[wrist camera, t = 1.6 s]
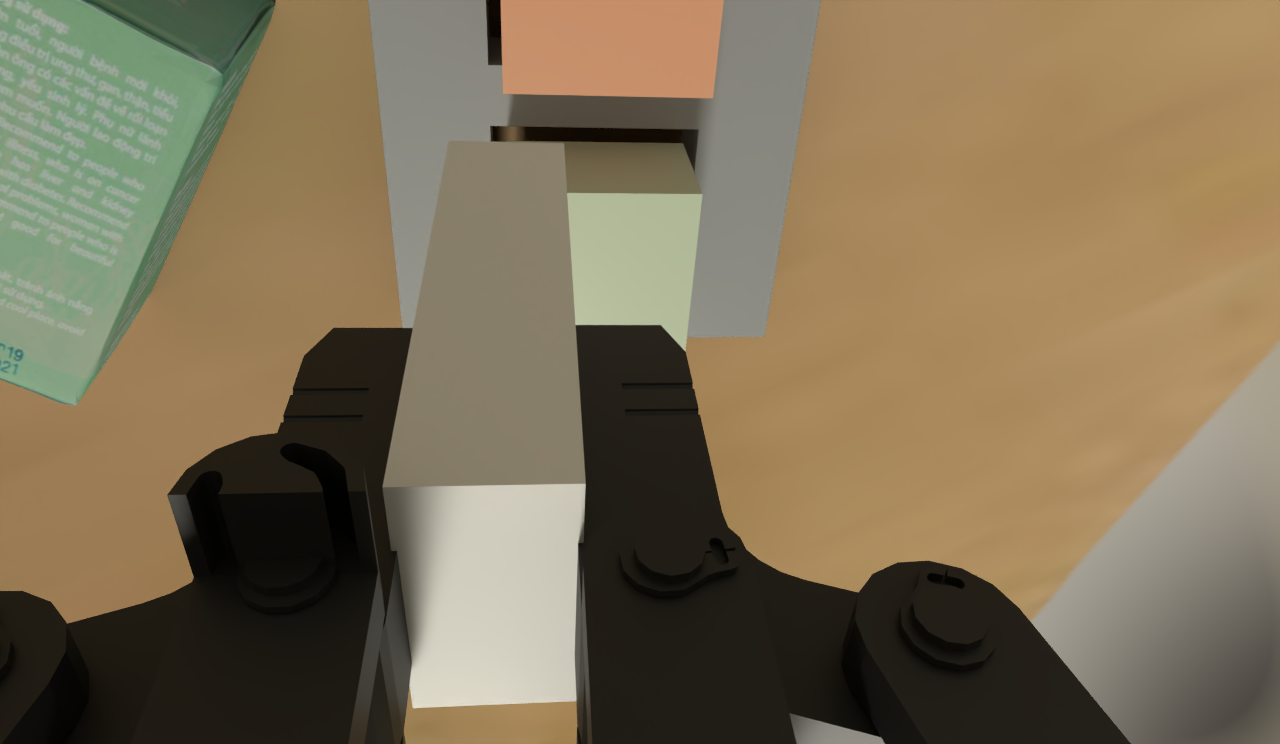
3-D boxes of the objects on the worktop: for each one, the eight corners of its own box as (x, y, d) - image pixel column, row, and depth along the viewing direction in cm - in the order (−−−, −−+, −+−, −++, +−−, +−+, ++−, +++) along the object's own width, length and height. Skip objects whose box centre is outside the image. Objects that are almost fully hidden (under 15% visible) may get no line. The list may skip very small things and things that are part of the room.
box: (286, -8, 30) (229, 65, 24) (152, 296, 36) (79, 416, 30) (44, -148, 28) (-89, -104, 22) (-58, 208, 34) (-185, 321, 28)
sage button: (509, 294, 35) (509, 356, 31) (506, 140, 31) (505, 192, 28) (668, 293, 35) (684, 354, 32) (683, 143, 32) (702, 194, 29)
